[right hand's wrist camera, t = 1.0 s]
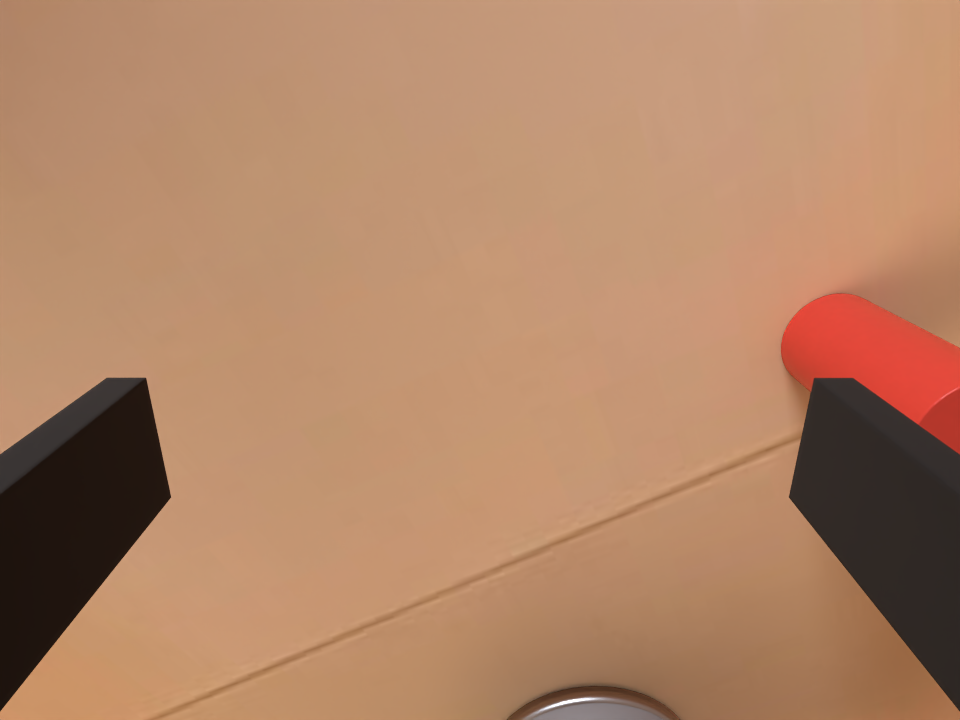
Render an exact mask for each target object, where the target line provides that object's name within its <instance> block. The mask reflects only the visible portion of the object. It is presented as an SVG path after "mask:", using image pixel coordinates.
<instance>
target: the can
mask: <svg viewBox="0 0 960 720" xmlns="http://www.w3.org/2000/svg"><path fill="white" fill-rule="evenodd" d="M781 354H782V359H783V363H784V365H785V367H786V369H787V370H788V372H789V373H790V374H791V375H792V376H793V377H794V378H795V379H796V380H798V381H799V382H800V383H801V384H802V385H803V386H804V387H806V388H807V389H808V390H809V391H810V392H811V390H812V385H813V380H814V378H854V379H855V380H857V381H858V382H859V383H861V384H862V385H864V386H865V387H866V388H868V389H869V390H871V391H872V392H873V393H875V394H876V395H878V396H879V397H880V398H882V399H883V400H885V401H886V402H887V403H889V404H890V405H892V406H893V407H894V408H896V409H897V410H898V411H900V412H901V413H903V414H904V415H905V416H907V417H908V418H910V419H911V420H912V421H914V422H915V423H917V424H918V425H919V426H921V427H922V428H924V429H925V430H926V431H928V432H929V433H931V434H932V435H933V436H935V437H936V438H938V439H939V440H940V441H942V442H943V443H944V444H946V445H947V446H949V447H950V448H951V449H953V450H954V451H956V452H957V453H958V454H960V348H959V347H957V346H955V345H953V344H951V343H949V342H947V341H945V340H943V339H941V338H939V337H937V336H935V335H933V334H931V333H930V332H928V331H926V330H924V329H922V328H920V327H918V326H916V325H914V324H912V323H910V322H908V321H906V320H904V319H902V318H900V317H898V316H896V315H894V314H892V313H890V312H889V311H887V310H885V309H883V308H881V307H879V306H877V305H875V304H873V303H871V302H869V301H867V300H865V299H863V298H861V297H858V296H855V295H852V294H832V295H828V296H824V297H821V298H819V299H816V300H814V301H812V302H811V303H809V304H808V305H806V306H805V307H803V308H802V309H801V310H800V311H799V312H798V313H797V314H796V315H795V316H794V317H793V318H792V320H791V321H790V323H789V324H788V326H787V328H786V330H785V332H784V335H783V338H782V344H781Z"/></svg>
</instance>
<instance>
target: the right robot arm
mask: <svg viewBox="0 0 960 720" xmlns="http://www.w3.org/2000/svg"><path fill="white" fill-rule="evenodd" d="M170 498H171V495H170V490H169V485H168V480H167V476H166V471H165V466H164V461H163V457H162V452H161V447H160V442H159V437H158V433H157V428H156V423H155V418H154V414H153V409H152V404H151V399H150V395H149V390H148V385H147V380H146V378H106V379H105V380H103V381H102V382H101V383H99V384H98V385H96V386H95V387H94V388H92V389H91V390H89V391H88V392H87V393H85V394H84V395H82V396H81V397H80V398H78V399H77V400H75V401H74V402H73V403H71V404H70V405H68V406H67V407H66V408H64V409H63V410H62V411H60V412H59V413H57V414H56V415H55V416H53V417H52V418H50V419H49V420H48V421H46V422H45V423H43V424H42V425H41V426H39V427H38V428H36V429H35V430H34V431H32V432H31V433H29V434H28V435H27V436H25V437H24V438H22V439H21V440H20V441H18V442H17V443H16V444H14V445H13V446H11V447H10V448H9V449H7V450H6V451H4V452H3V453H2V454H0V711H1V710H2V708H3V707H4V706H5V705H6V703H7V702H8V701H9V700H10V698H11V697H12V696H13V695H14V693H15V692H16V691H17V690H18V688H19V687H20V686H21V685H22V683H23V682H24V681H25V680H26V678H27V677H28V676H29V675H30V673H31V672H32V671H33V670H34V668H35V667H36V666H37V665H38V663H39V662H40V661H41V660H42V658H43V657H44V656H45V655H46V653H47V652H48V651H49V650H50V648H51V647H52V646H53V645H54V643H55V642H56V641H57V640H58V638H59V637H60V636H61V635H62V633H63V632H64V631H65V630H66V628H67V627H68V626H69V625H70V623H71V622H72V621H73V620H74V618H75V617H76V616H77V614H78V613H79V612H80V611H81V609H82V608H83V607H84V606H85V604H86V603H87V602H88V601H89V599H90V598H91V597H92V596H93V594H94V593H95V592H96V591H97V589H98V588H99V587H100V586H101V584H102V583H103V582H104V581H105V579H106V578H107V577H108V576H109V574H110V573H111V572H112V571H113V569H114V568H115V567H116V566H117V564H118V563H119V562H120V561H121V559H122V558H123V557H124V556H125V554H126V553H127V552H128V551H129V549H130V548H131V547H132V546H133V544H134V543H135V542H136V541H137V539H138V538H139V537H140V536H141V534H142V533H143V532H144V531H145V529H146V528H147V527H148V526H149V524H150V523H151V522H152V521H153V519H154V518H155V517H156V516H157V514H158V513H159V512H160V511H161V509H162V508H163V507H164V506H165V504H166V503H167V502H168V500H169V499H170ZM789 498H790V499H791V500H792V502H793V503H794V504H795V506H796V507H797V508H798V509H799V511H800V512H801V513H802V514H803V516H804V517H805V518H806V519H807V521H808V522H809V523H810V524H811V526H812V527H813V528H814V529H815V531H816V532H817V533H818V534H819V536H820V537H821V538H822V539H823V541H824V542H825V543H826V544H827V546H828V547H829V548H830V549H831V551H832V552H833V553H834V554H835V556H836V557H837V558H838V559H839V561H840V562H841V563H842V564H843V566H844V567H845V568H846V569H847V571H848V572H849V573H850V574H851V576H852V577H853V578H854V579H855V581H856V582H857V583H858V584H859V586H860V587H861V588H862V589H863V591H864V592H865V593H866V594H867V596H868V597H869V598H870V599H871V601H872V602H873V603H874V604H875V606H876V607H877V608H878V609H879V611H880V612H881V613H882V614H883V616H884V617H885V618H886V620H887V621H888V622H889V623H890V625H891V626H892V627H893V628H894V630H895V631H896V632H897V633H898V635H899V636H900V637H901V638H902V640H903V641H904V642H905V643H906V645H907V646H908V647H909V648H910V650H911V651H912V652H913V653H914V655H915V656H916V657H917V658H918V660H919V661H920V662H921V663H922V665H923V666H924V667H925V668H926V670H927V671H928V672H929V673H930V675H931V676H932V677H933V678H934V680H935V681H936V682H937V683H938V685H939V686H940V687H941V688H942V690H943V691H944V692H945V693H946V695H947V696H948V697H949V698H950V700H951V701H952V702H953V703H954V705H955V706H956V707H957V708H958V710H959V711H960V454H958V453H957V452H956V451H954V450H953V449H951V448H950V447H949V446H947V445H946V444H944V443H943V442H942V441H940V440H939V439H938V438H936V437H935V436H933V435H932V434H931V433H929V432H928V431H926V430H925V429H924V428H922V427H921V426H919V425H918V424H917V423H915V422H914V421H912V420H911V419H910V418H908V417H907V416H905V415H904V414H903V413H901V412H900V411H898V410H897V409H896V408H894V407H893V406H892V405H890V404H889V403H887V402H886V401H885V400H883V399H882V398H880V397H879V396H878V395H876V394H875V393H873V392H872V391H871V390H869V389H868V388H866V387H865V386H864V385H862V384H861V383H859V382H858V381H857V380H855V379H854V378H814V380H813V385H812V390H811V395H810V399H809V404H808V409H807V414H806V418H805V423H804V428H803V433H802V437H801V442H800V447H799V452H798V457H797V461H796V466H795V471H794V476H793V480H792V485H791V490H790V495H789ZM507 720H680V719H679V718H678V717H677V716H676V715H675V714H674V713H673V712H672V711H671V710H670V709H668V708H667V707H666V706H664V705H663V704H661V703H660V702H658V701H656V700H654V699H653V698H650V697H648V696H646V695H643V694H640V693H637V692H634V691H630V690H626V689H621V688H615V687H605V686H590V687H578V688H571V689H566V690H561V691H558V692H554V693H551V694H548V695H545V696H543V697H541V698H538V699H536V700H534V701H532V702H530V703H528V704H527V705H525V706H523V707H522V708H520V709H519V710H518V711H516V712H515V713H514V714H513V715H511V716H510V717H509V718H508V719H507Z"/></svg>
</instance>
